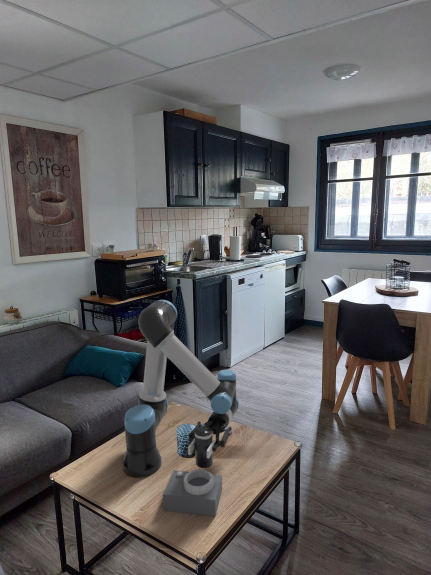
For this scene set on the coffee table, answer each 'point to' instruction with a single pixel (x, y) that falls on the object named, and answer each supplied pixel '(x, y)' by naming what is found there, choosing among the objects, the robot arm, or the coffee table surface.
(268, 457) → the coffee table surface
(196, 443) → the lens
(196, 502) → the camera body
